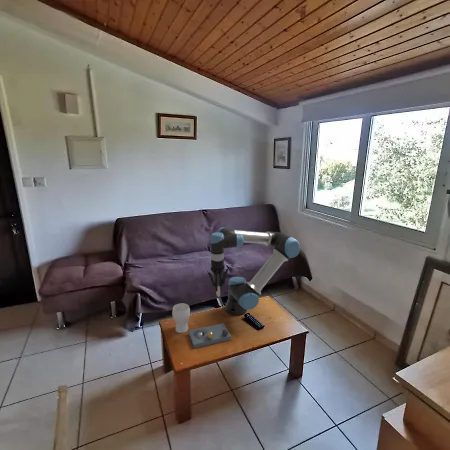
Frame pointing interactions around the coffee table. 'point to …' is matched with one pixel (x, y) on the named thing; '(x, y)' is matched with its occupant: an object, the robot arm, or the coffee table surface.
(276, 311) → the coffee table surface
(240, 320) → the coffee table surface
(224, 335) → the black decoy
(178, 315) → the cup
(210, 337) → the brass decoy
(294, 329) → the coffee table surface
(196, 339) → the plate
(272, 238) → the robot arm
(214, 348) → the coffee table surface
